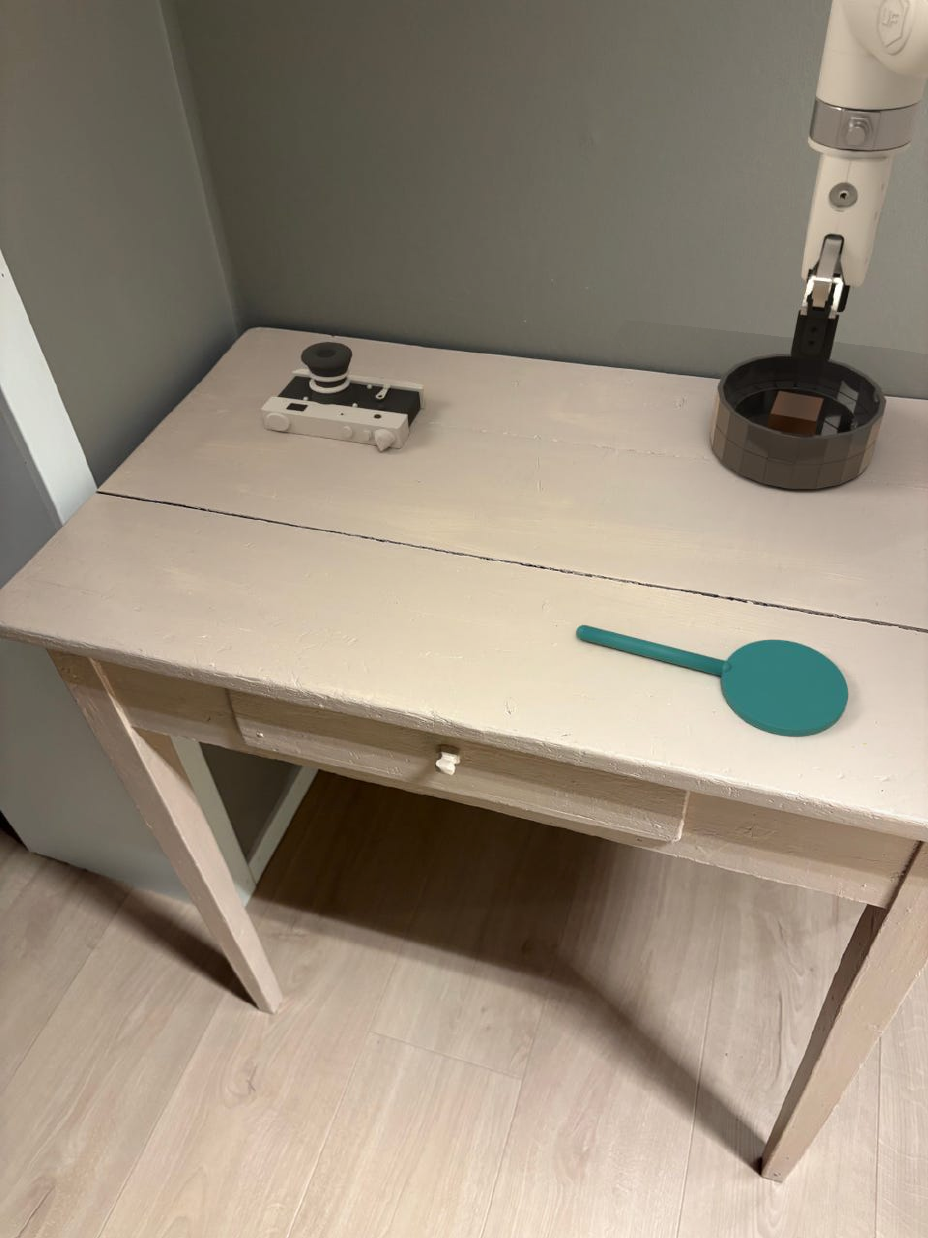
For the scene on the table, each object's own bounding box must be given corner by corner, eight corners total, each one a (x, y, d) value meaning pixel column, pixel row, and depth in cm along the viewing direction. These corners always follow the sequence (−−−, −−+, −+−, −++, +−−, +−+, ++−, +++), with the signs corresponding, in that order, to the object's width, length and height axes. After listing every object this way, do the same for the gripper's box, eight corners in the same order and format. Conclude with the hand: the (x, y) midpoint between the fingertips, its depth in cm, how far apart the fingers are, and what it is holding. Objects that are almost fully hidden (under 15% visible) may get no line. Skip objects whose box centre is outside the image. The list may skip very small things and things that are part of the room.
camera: (424, 343, 98) (389, 393, 91) (428, 404, 103) (395, 455, 96) (288, 328, 101) (244, 375, 95) (298, 387, 106) (258, 435, 100)
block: (814, 435, 94) (823, 398, 91) (807, 458, 91) (816, 420, 88) (771, 427, 95) (778, 390, 93) (762, 450, 93) (770, 412, 90)
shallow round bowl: (877, 421, 96) (893, 367, 92) (859, 507, 87) (875, 451, 82) (727, 395, 101) (736, 343, 97) (694, 474, 91) (702, 420, 87)
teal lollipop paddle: (853, 664, 73) (857, 653, 72) (836, 751, 67) (840, 740, 66) (593, 599, 79) (594, 589, 79) (557, 674, 74) (558, 663, 73)
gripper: (904, 163, 66) (850, 385, 78) (923, 94, 78) (873, 297, 89) (792, 155, 69) (756, 372, 80) (827, 89, 80) (791, 287, 92)
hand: (818, 332), depth 85 cm, fingers open, 9 cm apart
